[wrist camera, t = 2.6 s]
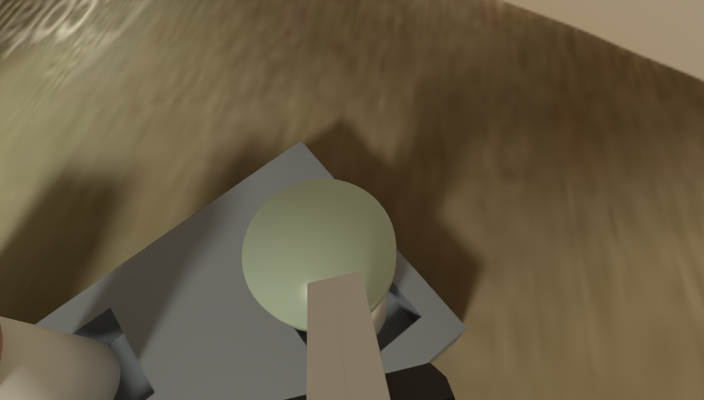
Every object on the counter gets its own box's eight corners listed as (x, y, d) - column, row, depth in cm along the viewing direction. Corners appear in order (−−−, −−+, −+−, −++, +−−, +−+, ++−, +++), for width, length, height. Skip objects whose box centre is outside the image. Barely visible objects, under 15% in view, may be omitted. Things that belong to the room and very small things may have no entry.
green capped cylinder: (277, 299, 26) (213, 237, 17) (354, 240, 27) (333, 152, 18) (336, 382, 24) (299, 363, 15) (417, 314, 25) (429, 257, 16)
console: (41, 369, 31) (-19, 361, 26) (312, 175, 36) (300, 140, 31) (144, 613, 25) (88, 658, 20) (456, 341, 29) (466, 328, 25)
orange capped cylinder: (15, 373, 26) (-198, 351, 16) (104, 310, 27) (-49, 256, 18) (51, 464, 23) (-171, 497, 14) (146, 392, 25) (-3, 379, 15)
